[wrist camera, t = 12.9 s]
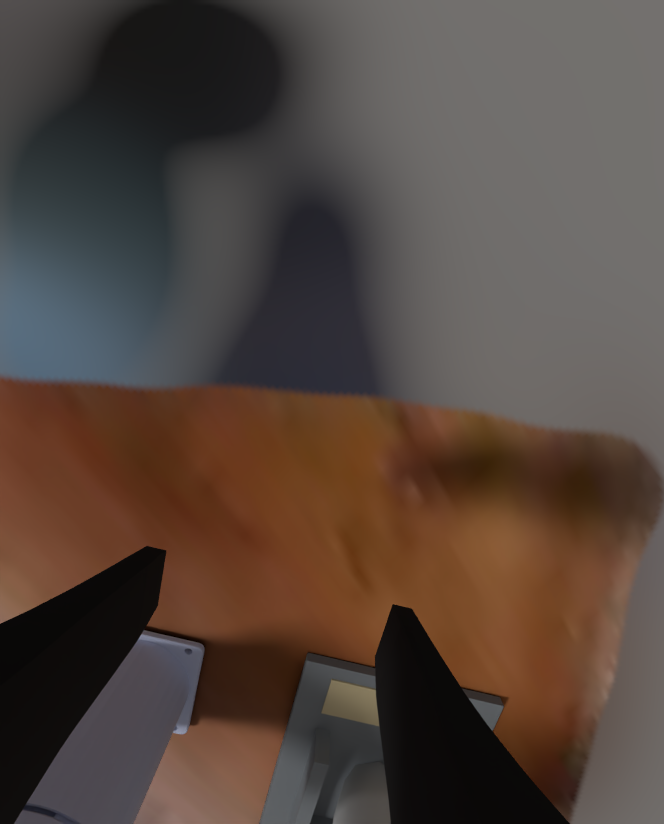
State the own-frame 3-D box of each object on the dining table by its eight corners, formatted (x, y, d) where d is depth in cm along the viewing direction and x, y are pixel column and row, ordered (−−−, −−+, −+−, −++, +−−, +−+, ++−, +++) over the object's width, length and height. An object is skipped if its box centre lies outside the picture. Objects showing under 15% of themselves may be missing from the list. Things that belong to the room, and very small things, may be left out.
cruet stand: (257, 828, 27) (248, 879, 24) (307, 652, 23) (303, 690, 21) (423, 865, 27) (432, 918, 25) (499, 697, 24) (519, 740, 21)
